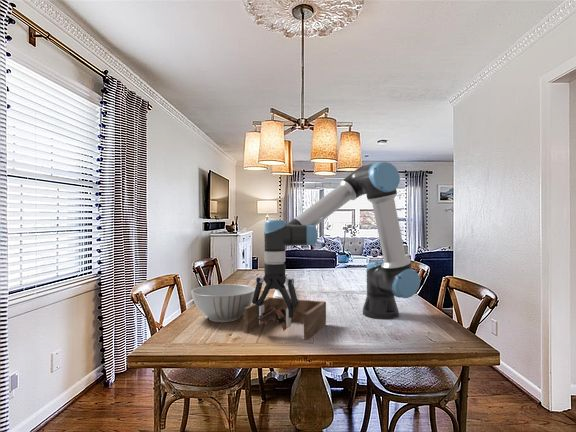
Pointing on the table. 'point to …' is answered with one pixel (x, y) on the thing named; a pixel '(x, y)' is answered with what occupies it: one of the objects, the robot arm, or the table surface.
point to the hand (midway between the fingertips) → (275, 325)
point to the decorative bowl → (223, 300)
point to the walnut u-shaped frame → (303, 313)
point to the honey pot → (278, 293)
